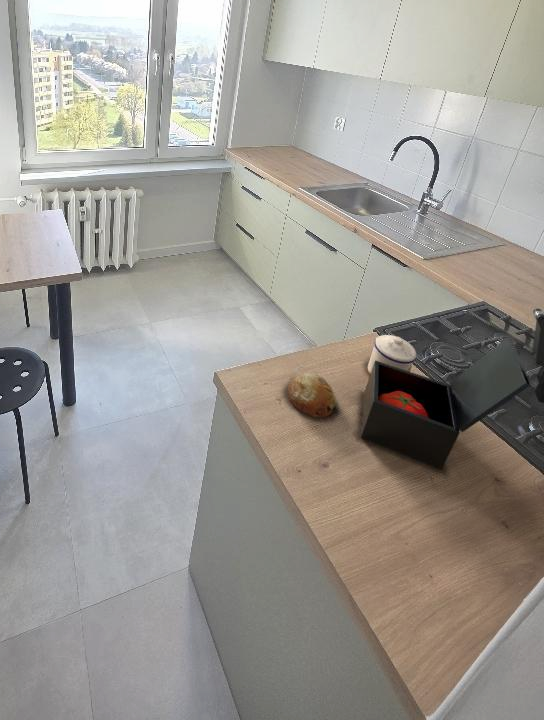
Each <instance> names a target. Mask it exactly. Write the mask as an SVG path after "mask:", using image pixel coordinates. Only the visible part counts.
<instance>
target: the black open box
mask: <svg viewBox="0 0 544 720" xmlns="http://www.w3.org/2000/svg"><path fill="white" fill-rule="evenodd" d="M369 374H370V373H369ZM395 391H402V392H405V393H407V394H409V395H411V396H412V397H413V398H414V399H416V400H415V401H416V402H418V403H420V404H421V405H422V406H423V408H424V409H425V411H426V412H427V414H428V417H429V418H426V417H423V416H421V415H418V414H415V413H412V412H410V411H407V410H404V409H401V408H399V407H396V406H393V405H390V404H388V403H385V402H382V401H379V400H378V397H379V396H380V395H381V394H389V393H390V392H395ZM362 397H363V398H362V412H361V426H360V427H361V428H360V439H362V440H365V441H366V442H367V441H368V442H370V443H372V444H375V445H377V446H379V447H382V448H384V449H387V450H389V451H392V452H395V453H397V454H399V455H402V456H405V457H407V458H410V459H412V460H415V461H417V462H419V463H422V464H424V465H427V466H430V467H432V468H434V469H437V470H439V471H442V470H443V468H444V466H445V464H446V461H447V460H448V458H449V455H450V454H451V451H452V450H453V448H454V445H455V443H456V442H457V439H458V437H459V435H460V434H461V433H460V432H461V431H460V430H459V428H458V423H457V418H456V412H455V407H454V401H453V396H452V390H451V385H450V384H448V383H445V382H442V381H439V380H435V379H433V378H429V377H428V376H427V377H426V376H425V375H422V374H421V375H420V374H418V373H415V372H411V371H410V372H409V371H406V370H403V369H400V368H397V367H394V366H391V365H388V364H385V363H382V362H379V361H376V360H375V362H374V365H373V368H372V371H371V374H370V375H369V377H368V380H367V383H366V386H365V389H364V391H363V395H362Z"/></svg>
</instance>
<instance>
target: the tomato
mask: <svg viewBox="0 0 544 720" xmlns="http://www.w3.org/2000/svg"><path fill="white" fill-rule="evenodd" d="M378 400H379V401H382V402H385V403H388V404H390V405H393V406H396V407H399V408H401V409H404V410H407V411H410V412H412V413H415V414H418V415H421V416H423V417H426V418H429V417H428V414H427V412H426V411H425V409H424V408H423V406H422V405H421V404H420V403H418V402H416V401H415V400H416V399H414V398H413V397H412V396H411V395H409V394H407V393H405V392H402V391H395V392H390V393H389V394H381V395H380V396H379V397H378Z"/></svg>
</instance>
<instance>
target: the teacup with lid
mask: <svg viewBox="0 0 544 720" xmlns="http://www.w3.org/2000/svg"><path fill="white" fill-rule="evenodd" d="M375 360H376V361H379V362H382V363H385V364H388V365H391V366H394V367H397V368H400V369H403V370H406V371H409V372H411V370H412V367H413V365H414V362H415V361H416V360H417V352H416V349H415V348H414V346H413V345H412V344H411V343H410V342H408V341H407V340H405V339H403V338H402V337H400V336H397V335H391V334H381V335H379V336H378V337H376V338H375V340H374V345H373V349H372V352H371V355H370V359H369V362H368V364H367V371H368V373H369V374H371V371H372V368H373V365H374V362H375Z"/></svg>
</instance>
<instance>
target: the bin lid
mask: <svg viewBox="0 0 544 720" xmlns="http://www.w3.org/2000/svg"><path fill="white" fill-rule="evenodd" d="M525 370H526V369H525V368H524V365H523V363H522V361H521V358H520V356H519V353H518V350H517V349H516V346H515V343H514V341H513V339H511V337H506V338H505V339H503V340H502V341H501V342H500V343H498V344H497V345H496V346H494V347H493V348H492V349H491V350H489V351H488V352H487V353H486V354H484V355H483V356H482V357H481V358H479V359H477V361H476V362H474V363H472V365H470V366H469V367H468V368H467V369H465V370H464V371H463V372H461V373H460V374H459V375H458V376H456V377H455V378H454V379H453V380H451V381H450V382H449V385H451V390H452V396H453V401H454V407H455V412H456V418H457V423H458V428H459V432H461V433H464V432H466V431H468V429H470V428H471V427H473V426H474V425H476V424H478V423H479V422H480V421H482V420H483V419H484V418H486V417H487V416H489V415H490V414H491V413H493V412H495V411H496V410H498V409H499V408H500V407H502V406H504V405H505V404H506V403H508V402H509V401H511V400H512V399H514V398H515V397H517V396H518V395H520V394H522V393H523V392H524V391H525V390H527V389H528V388H530V387H531V386H532V385H531V383H530V380H529V378H528V375H527V373H526V371H525Z"/></svg>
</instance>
